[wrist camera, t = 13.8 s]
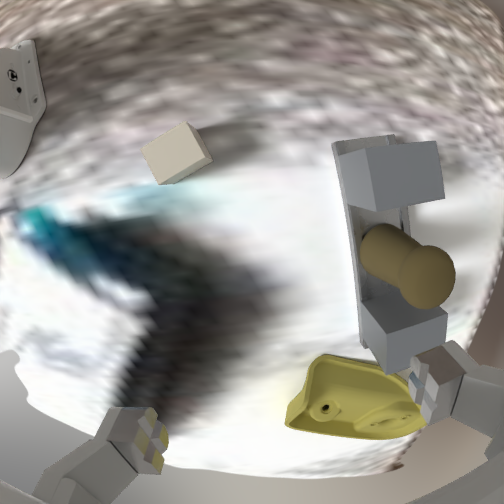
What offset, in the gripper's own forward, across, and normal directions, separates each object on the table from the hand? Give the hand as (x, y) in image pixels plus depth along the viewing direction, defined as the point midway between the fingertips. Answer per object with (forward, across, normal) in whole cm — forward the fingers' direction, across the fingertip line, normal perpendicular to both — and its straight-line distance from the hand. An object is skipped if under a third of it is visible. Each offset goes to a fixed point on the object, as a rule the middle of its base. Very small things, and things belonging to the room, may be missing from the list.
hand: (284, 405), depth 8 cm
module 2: (+22, -13, +12) cm, 29 cm away
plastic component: (+24, -8, +26) cm, 36 cm away
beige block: (+25, +6, -10) cm, 28 cm away
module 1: (+23, -13, -4) cm, 27 cm away
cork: (+22, -13, +4) cm, 26 cm away
